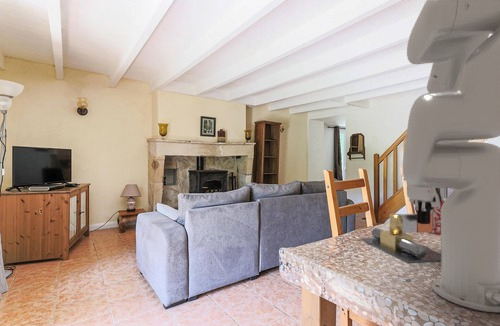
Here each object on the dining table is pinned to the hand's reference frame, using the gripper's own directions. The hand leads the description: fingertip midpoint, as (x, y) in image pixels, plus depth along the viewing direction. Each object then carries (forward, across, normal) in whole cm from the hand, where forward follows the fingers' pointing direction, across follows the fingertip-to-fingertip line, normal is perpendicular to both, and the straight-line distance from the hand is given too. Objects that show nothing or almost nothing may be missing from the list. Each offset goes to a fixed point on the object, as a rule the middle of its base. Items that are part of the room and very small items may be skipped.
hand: (423, 223), depth 81 cm
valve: (+9, +3, +5) cm, 11 cm away
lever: (+4, +3, +2) cm, 5 cm away
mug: (+9, +20, -23) cm, 32 cm away
